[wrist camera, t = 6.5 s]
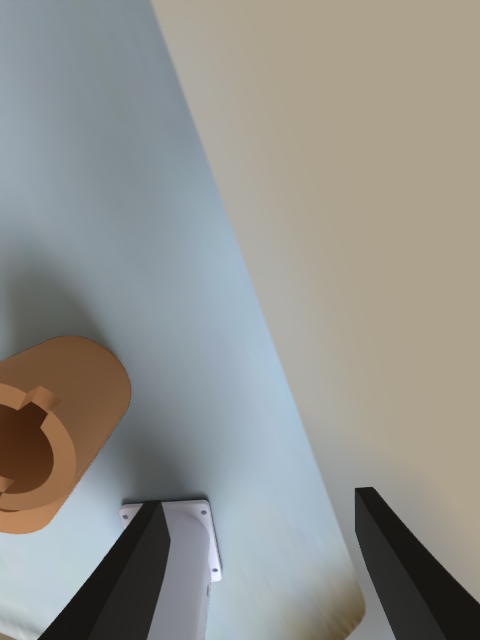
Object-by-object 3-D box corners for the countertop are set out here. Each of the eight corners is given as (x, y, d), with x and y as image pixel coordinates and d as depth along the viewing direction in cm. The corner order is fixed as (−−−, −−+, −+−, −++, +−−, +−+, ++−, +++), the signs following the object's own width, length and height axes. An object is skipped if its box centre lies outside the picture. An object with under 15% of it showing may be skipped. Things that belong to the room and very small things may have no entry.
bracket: (53, 313, 19) (-52, 348, 12) (150, 374, 20) (102, 436, 13) (-29, 473, 23) (-140, 562, 17) (56, 516, 24) (-17, 617, 18)
